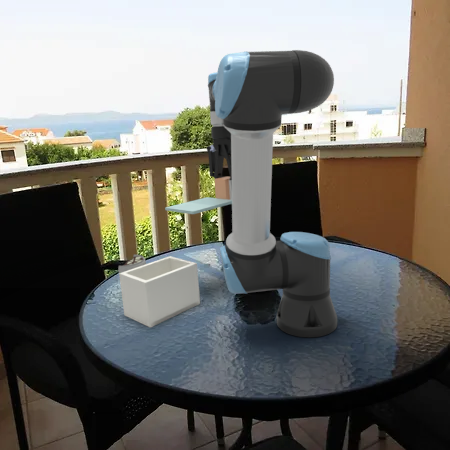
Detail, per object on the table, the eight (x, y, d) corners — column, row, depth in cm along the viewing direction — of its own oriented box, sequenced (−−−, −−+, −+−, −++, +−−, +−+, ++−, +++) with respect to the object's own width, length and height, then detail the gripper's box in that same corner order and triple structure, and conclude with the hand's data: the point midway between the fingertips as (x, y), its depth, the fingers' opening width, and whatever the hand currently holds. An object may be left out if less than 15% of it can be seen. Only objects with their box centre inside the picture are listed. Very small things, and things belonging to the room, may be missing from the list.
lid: (247, 199, 132) (246, 177, 130) (193, 214, 115) (191, 189, 113) (219, 196, 140) (218, 175, 138) (165, 210, 123) (163, 187, 121)
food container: (139, 297, 128) (136, 266, 125) (121, 296, 129) (117, 266, 127) (154, 282, 139) (151, 254, 137) (137, 281, 141) (134, 254, 138)
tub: (200, 303, 120) (196, 263, 117) (150, 327, 108) (145, 282, 105) (173, 294, 128) (170, 256, 125) (124, 315, 116) (119, 273, 113)
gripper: (252, 123, 125) (255, 199, 131) (210, 125, 137) (215, 195, 142) (236, 124, 120) (240, 203, 125) (194, 127, 131) (200, 198, 137)
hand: (227, 198), depth 134 cm, fingers closed on lid, 4 cm apart
